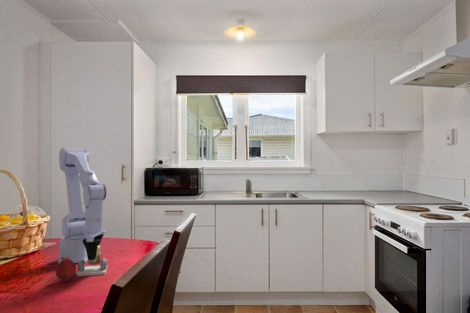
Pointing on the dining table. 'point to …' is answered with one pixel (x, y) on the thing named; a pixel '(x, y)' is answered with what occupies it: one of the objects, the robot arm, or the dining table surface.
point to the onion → (65, 269)
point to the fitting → (91, 268)
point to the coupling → (97, 259)
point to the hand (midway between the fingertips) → (93, 257)
